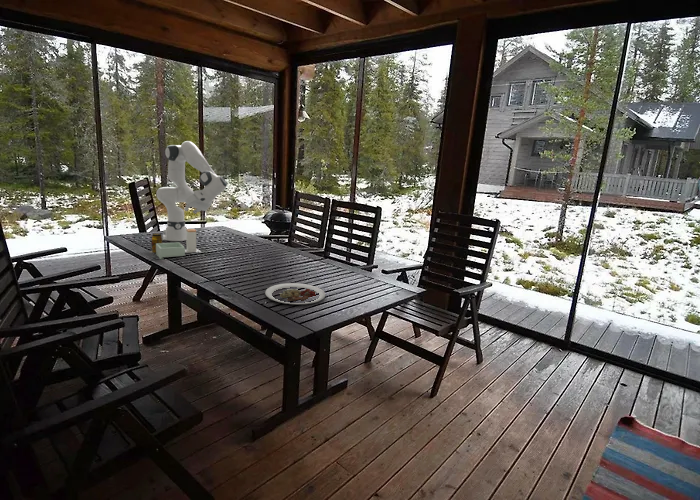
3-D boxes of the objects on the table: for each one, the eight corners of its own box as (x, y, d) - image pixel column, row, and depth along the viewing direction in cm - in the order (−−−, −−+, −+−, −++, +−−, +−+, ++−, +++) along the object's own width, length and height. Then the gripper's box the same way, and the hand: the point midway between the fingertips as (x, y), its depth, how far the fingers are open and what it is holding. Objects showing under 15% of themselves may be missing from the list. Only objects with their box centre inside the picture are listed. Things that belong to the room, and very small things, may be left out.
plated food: (253, 292, 196) (253, 286, 195) (301, 283, 217) (301, 277, 216) (288, 312, 175) (288, 305, 174) (337, 299, 196) (337, 293, 195)
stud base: (181, 251, 259) (181, 240, 257) (197, 250, 265) (197, 239, 263) (185, 255, 251) (185, 243, 250) (201, 253, 257) (201, 242, 255)
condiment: (148, 252, 251) (148, 233, 248) (159, 249, 259) (158, 232, 256) (157, 253, 249) (157, 235, 246) (167, 251, 256) (167, 233, 254)
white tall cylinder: (186, 249, 258) (186, 229, 255) (194, 249, 261) (194, 228, 258) (188, 251, 254) (188, 230, 251) (196, 251, 257) (196, 230, 254)
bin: (156, 254, 247) (155, 243, 246) (179, 252, 256) (179, 242, 254) (160, 259, 236) (160, 248, 235) (184, 257, 245) (184, 247, 243)
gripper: (211, 197, 255) (196, 210, 256) (193, 189, 235) (177, 204, 236) (216, 204, 254) (201, 217, 255) (199, 197, 234) (182, 212, 235)
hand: (189, 211), depth 246 cm, fingers open, 8 cm apart
